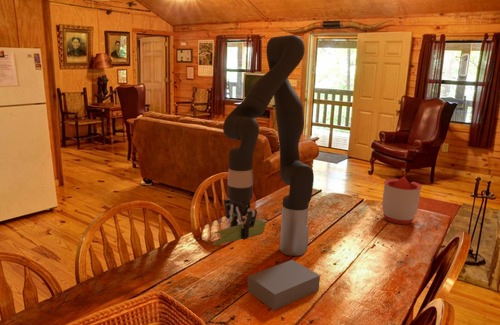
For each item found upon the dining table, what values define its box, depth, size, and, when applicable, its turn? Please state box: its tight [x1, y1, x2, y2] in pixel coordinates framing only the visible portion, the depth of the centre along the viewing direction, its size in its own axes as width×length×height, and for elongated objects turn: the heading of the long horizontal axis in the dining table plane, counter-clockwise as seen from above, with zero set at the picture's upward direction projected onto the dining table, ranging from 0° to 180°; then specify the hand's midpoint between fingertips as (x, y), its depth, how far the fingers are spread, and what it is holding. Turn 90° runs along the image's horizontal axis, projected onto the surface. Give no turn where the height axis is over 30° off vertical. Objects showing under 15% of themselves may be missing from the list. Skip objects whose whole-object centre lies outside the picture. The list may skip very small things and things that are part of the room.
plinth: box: [247, 259, 321, 311], centre depth 121 cm, size 18×12×5 cm, turn 128°
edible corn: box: [211, 219, 266, 247], centre depth 124 cm, size 5×20×5 cm
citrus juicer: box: [381, 176, 423, 225], centre depth 180 cm, size 16×17×20 cm
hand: (239, 235), depth 125 cm, fingers closed on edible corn, 4 cm apart
